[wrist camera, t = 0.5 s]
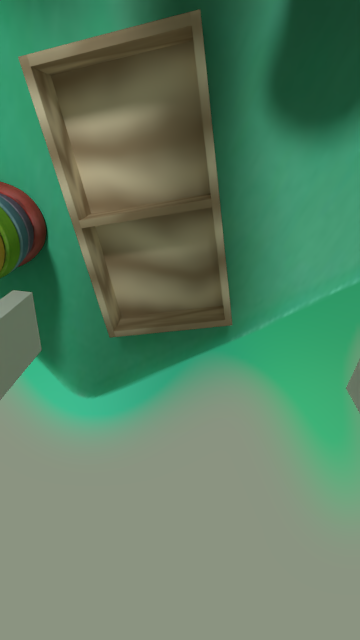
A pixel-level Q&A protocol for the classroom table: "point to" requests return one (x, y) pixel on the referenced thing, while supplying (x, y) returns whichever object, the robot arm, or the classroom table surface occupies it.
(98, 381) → the classroom table surface
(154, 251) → the divided wooden tray
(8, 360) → the robot arm
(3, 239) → the stacking bear
